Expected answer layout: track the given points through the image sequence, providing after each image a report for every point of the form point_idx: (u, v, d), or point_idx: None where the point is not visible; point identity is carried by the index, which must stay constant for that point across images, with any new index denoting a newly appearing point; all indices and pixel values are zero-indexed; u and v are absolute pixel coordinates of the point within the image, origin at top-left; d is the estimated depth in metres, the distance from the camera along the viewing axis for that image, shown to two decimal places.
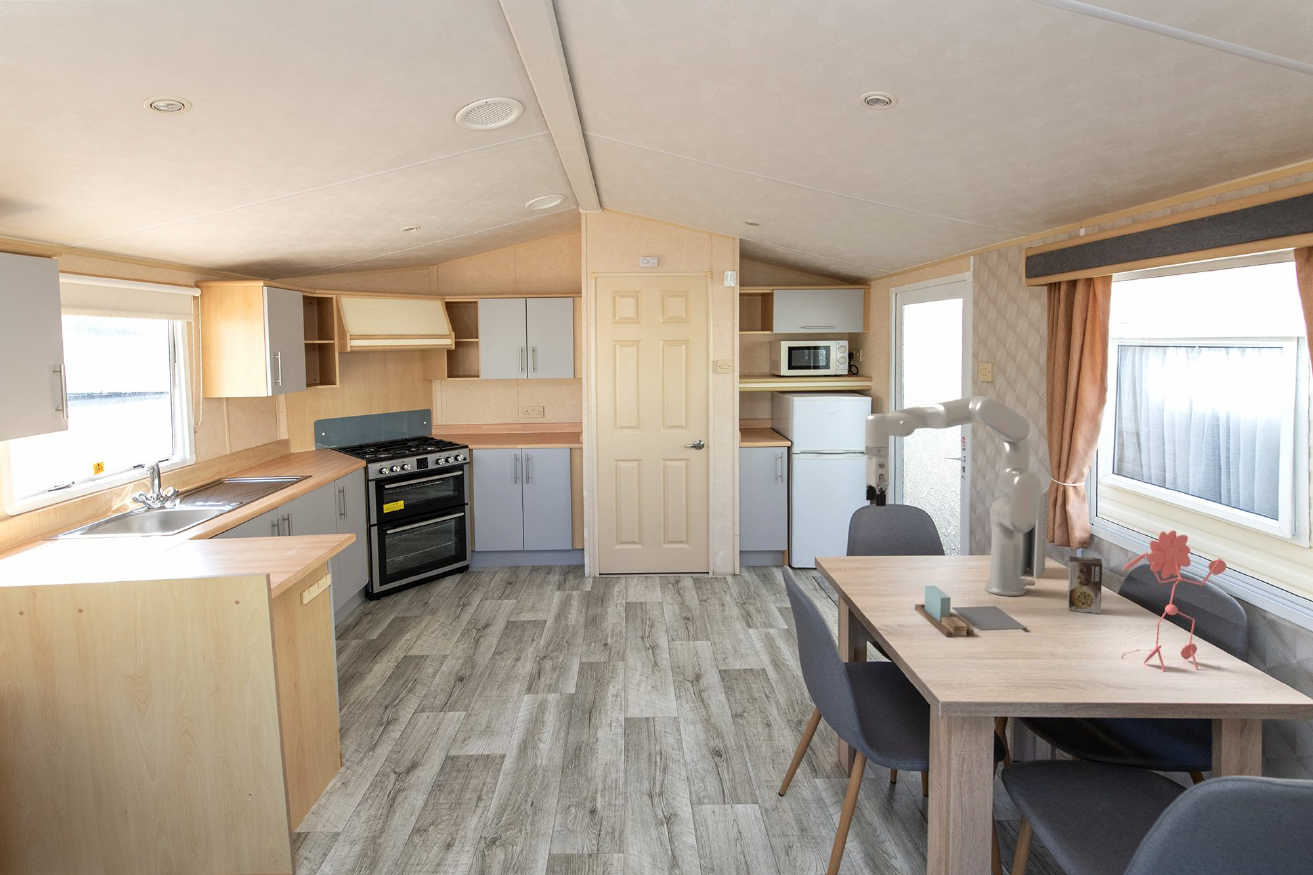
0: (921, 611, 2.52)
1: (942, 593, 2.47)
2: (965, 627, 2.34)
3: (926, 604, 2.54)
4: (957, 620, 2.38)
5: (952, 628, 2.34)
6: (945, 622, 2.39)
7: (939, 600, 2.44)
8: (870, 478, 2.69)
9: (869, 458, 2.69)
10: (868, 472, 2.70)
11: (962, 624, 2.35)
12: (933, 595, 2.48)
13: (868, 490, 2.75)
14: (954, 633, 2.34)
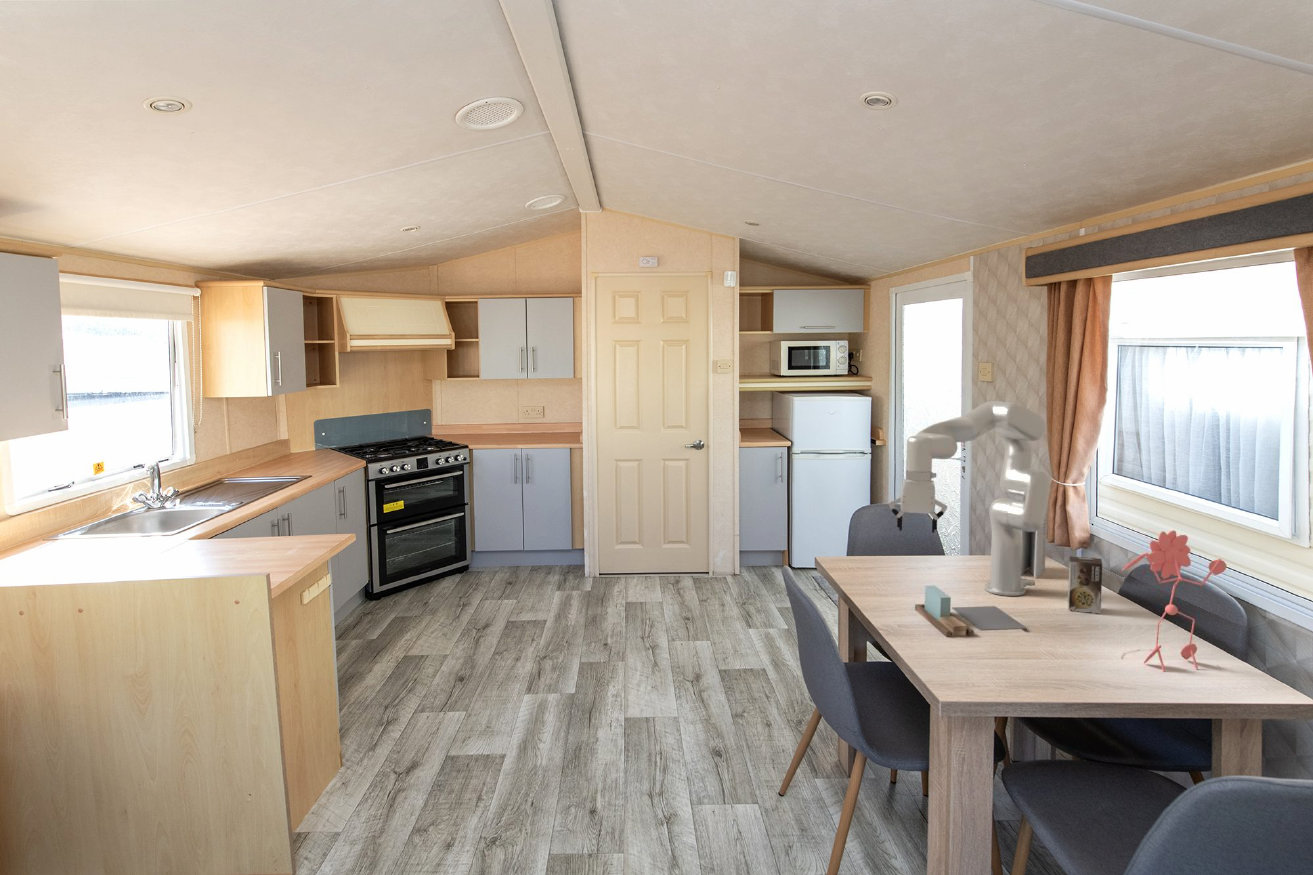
0: (921, 611, 2.52)
1: (942, 593, 2.47)
2: (964, 627, 2.34)
3: (926, 604, 2.54)
4: (956, 620, 2.38)
5: (952, 628, 2.34)
6: (944, 622, 2.38)
7: (939, 600, 2.44)
8: (920, 506, 2.51)
9: (919, 484, 2.50)
10: (915, 499, 2.51)
11: (961, 624, 2.35)
12: (933, 595, 2.48)
13: None
14: (953, 633, 2.34)
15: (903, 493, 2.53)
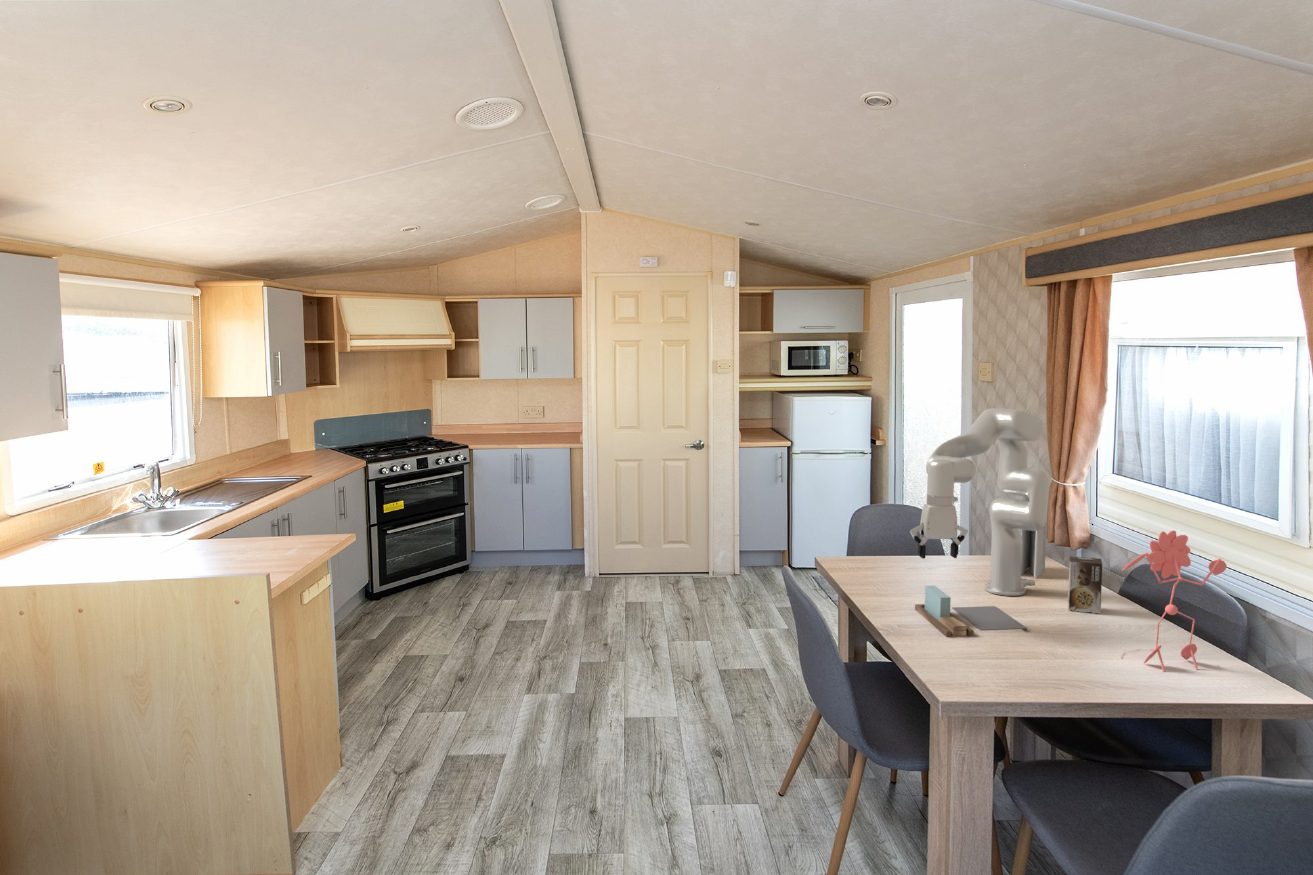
0: (921, 611, 2.52)
1: (942, 593, 2.47)
2: (964, 627, 2.34)
3: (926, 604, 2.54)
4: (955, 620, 2.38)
5: (952, 628, 2.34)
6: (944, 622, 2.39)
7: (939, 600, 2.44)
8: (944, 532, 2.44)
9: (944, 509, 2.43)
10: (940, 525, 2.44)
11: (961, 624, 2.35)
12: (933, 595, 2.48)
13: None
14: (954, 633, 2.34)
15: (928, 519, 2.44)
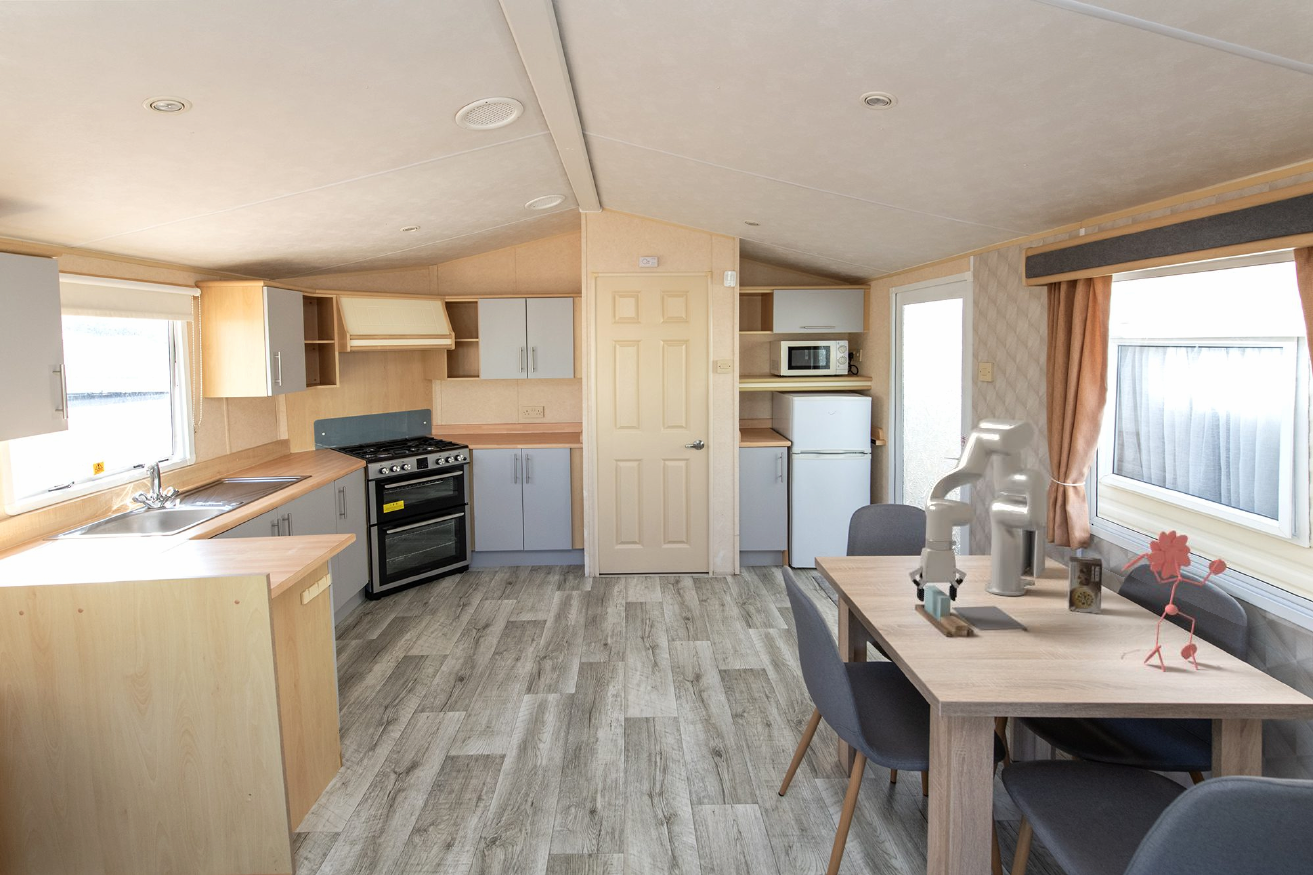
0: (921, 611, 2.52)
1: (942, 593, 2.47)
2: (966, 626, 2.34)
3: (926, 604, 2.54)
4: (956, 619, 2.38)
5: (954, 628, 2.34)
6: (945, 622, 2.38)
7: (939, 600, 2.44)
8: (943, 575, 2.46)
9: (943, 553, 2.45)
10: (939, 569, 2.45)
11: (963, 623, 2.35)
12: (933, 595, 2.48)
13: None
14: (955, 632, 2.34)
15: (926, 563, 2.45)
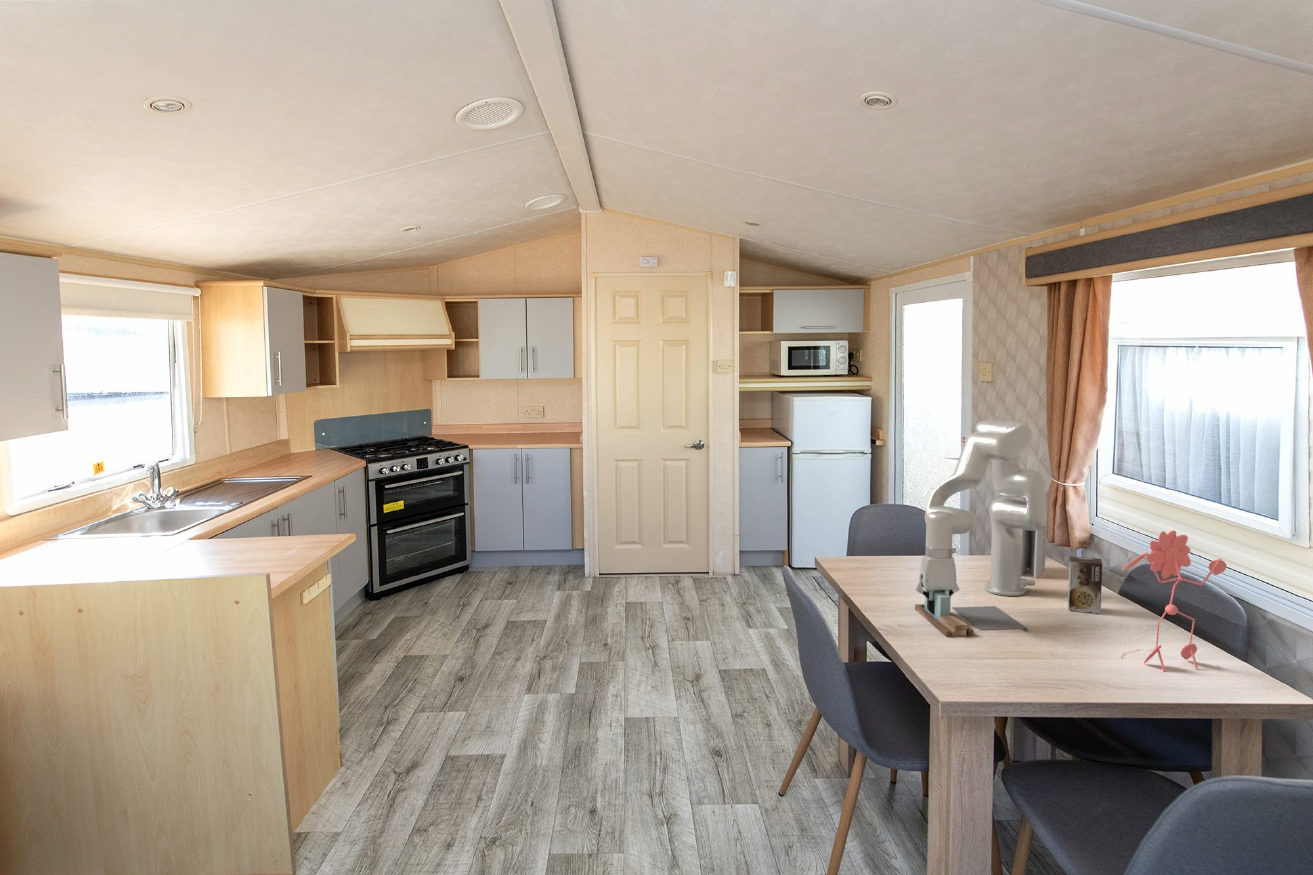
0: (921, 611, 2.52)
1: (942, 593, 2.47)
2: (966, 626, 2.34)
3: (926, 604, 2.54)
4: (956, 619, 2.38)
5: (953, 627, 2.34)
6: (944, 621, 2.38)
7: (939, 600, 2.44)
8: (943, 583, 2.46)
9: (943, 561, 2.45)
10: (939, 577, 2.46)
11: (962, 623, 2.35)
12: (933, 595, 2.48)
13: None
14: (954, 632, 2.33)
15: (927, 571, 2.46)
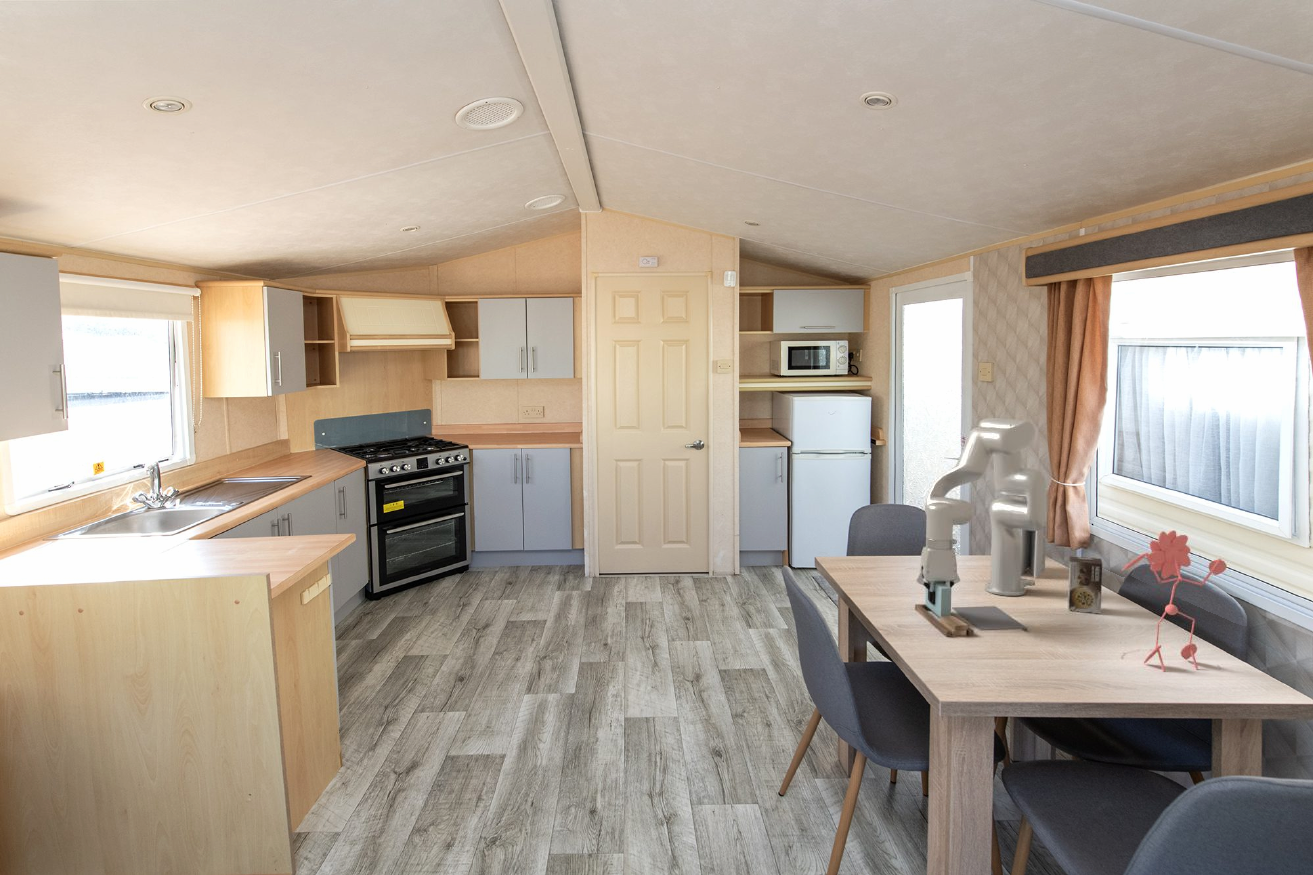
0: (921, 611, 2.52)
1: (943, 584, 2.46)
2: (966, 626, 2.34)
3: (927, 595, 2.54)
4: (956, 619, 2.38)
5: (953, 628, 2.34)
6: (944, 622, 2.38)
7: (940, 591, 2.44)
8: (944, 574, 2.46)
9: (943, 552, 2.45)
10: (939, 568, 2.45)
11: (962, 623, 2.35)
12: (934, 586, 2.48)
13: None
14: (954, 633, 2.33)
15: (927, 563, 2.45)
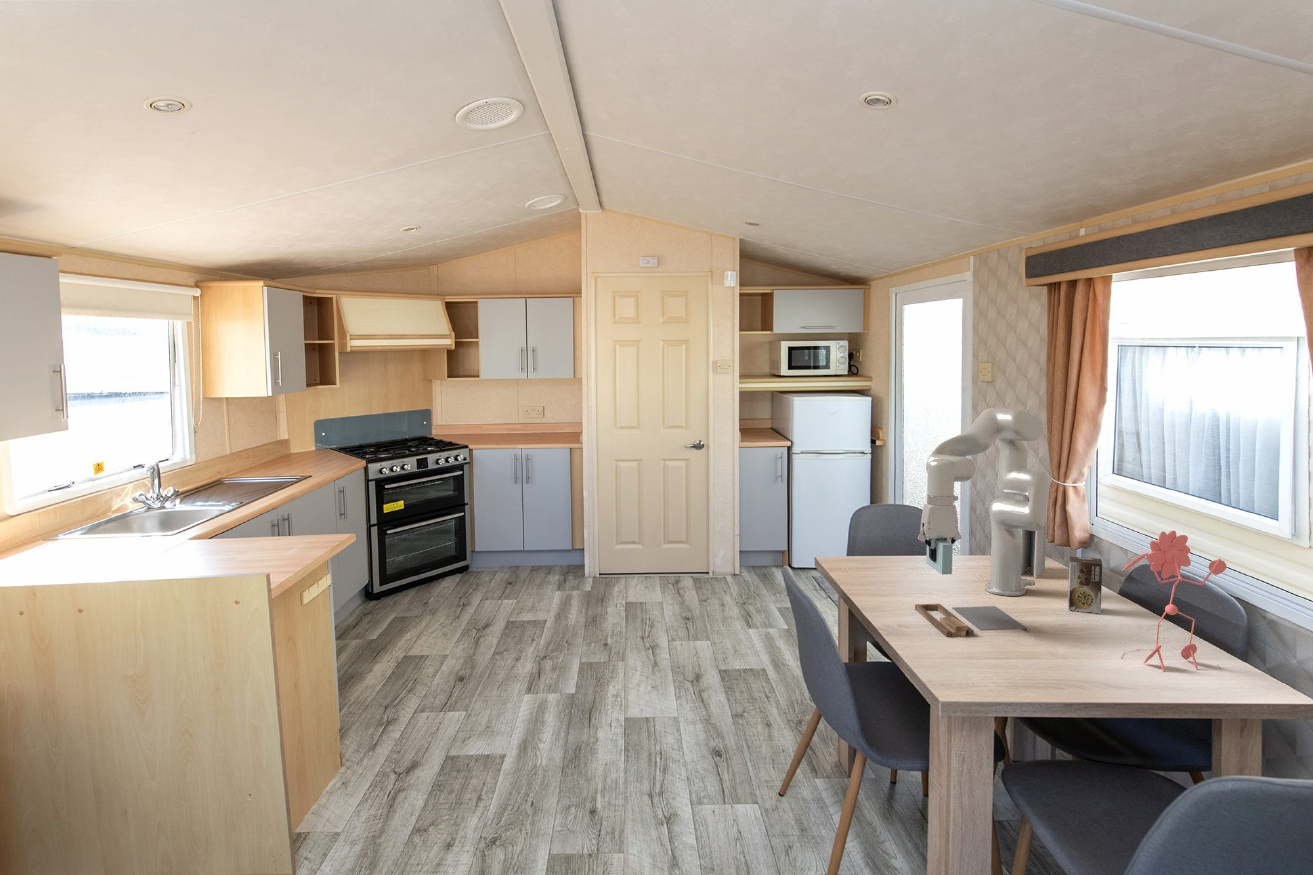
0: (921, 611, 2.52)
1: (944, 541, 2.45)
2: (966, 627, 2.34)
3: (928, 553, 2.52)
4: (956, 620, 2.38)
5: (954, 629, 2.34)
6: (944, 623, 2.38)
7: (941, 547, 2.42)
8: (945, 531, 2.44)
9: (944, 509, 2.43)
10: (941, 525, 2.44)
11: (962, 624, 2.35)
12: (935, 543, 2.46)
13: None
14: (954, 633, 2.33)
15: (928, 519, 2.44)
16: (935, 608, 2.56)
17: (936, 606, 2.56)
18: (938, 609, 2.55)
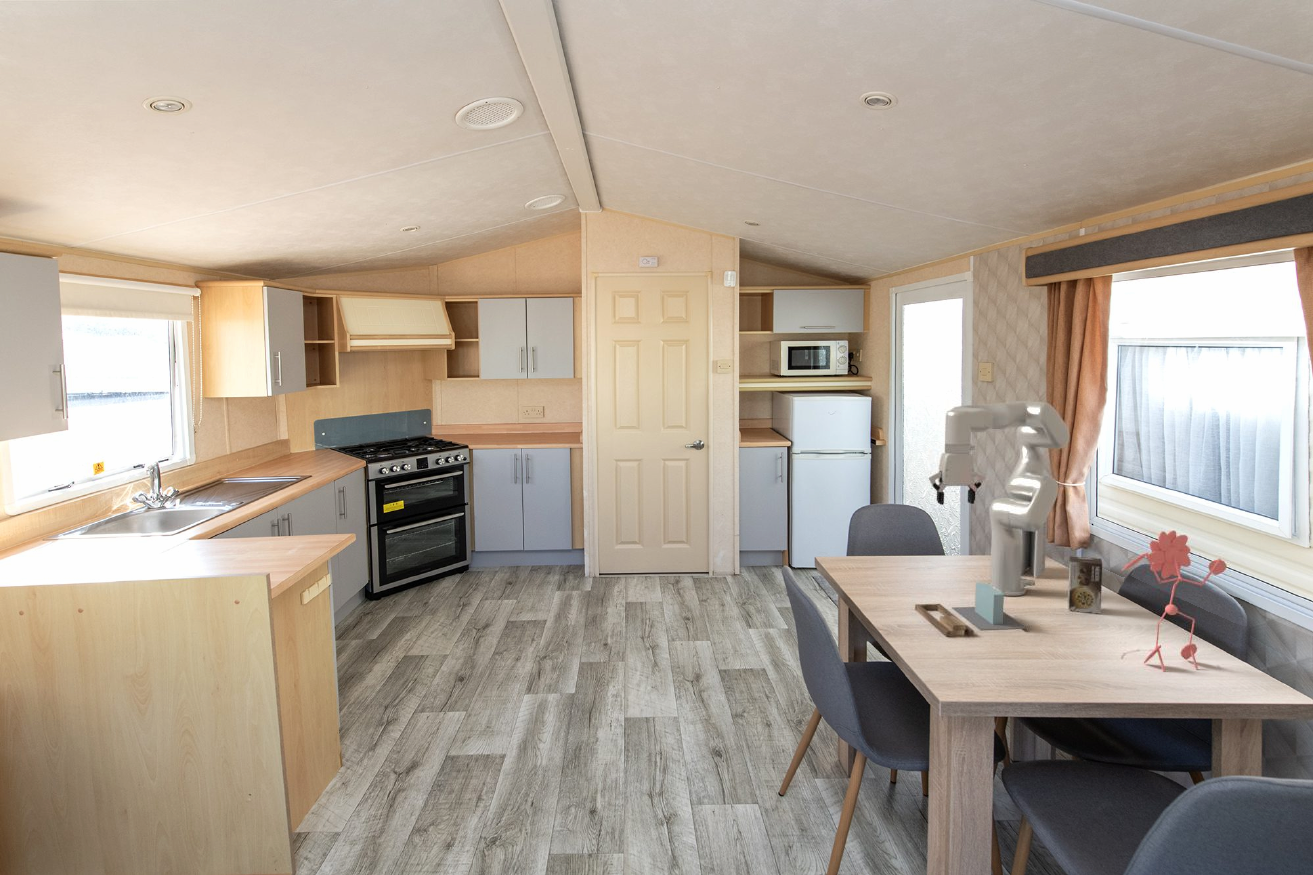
0: (921, 611, 2.52)
1: (994, 590, 2.45)
2: (964, 626, 2.34)
3: (977, 601, 2.52)
4: (955, 619, 2.38)
5: (951, 627, 2.34)
6: (943, 621, 2.39)
7: (992, 597, 2.42)
8: (962, 478, 2.55)
9: (961, 457, 2.54)
10: (958, 472, 2.55)
11: (961, 623, 2.35)
12: (985, 593, 2.46)
13: None
14: (952, 632, 2.34)
15: (946, 467, 2.55)
16: (935, 608, 2.56)
17: (936, 606, 2.56)
18: (938, 609, 2.55)
